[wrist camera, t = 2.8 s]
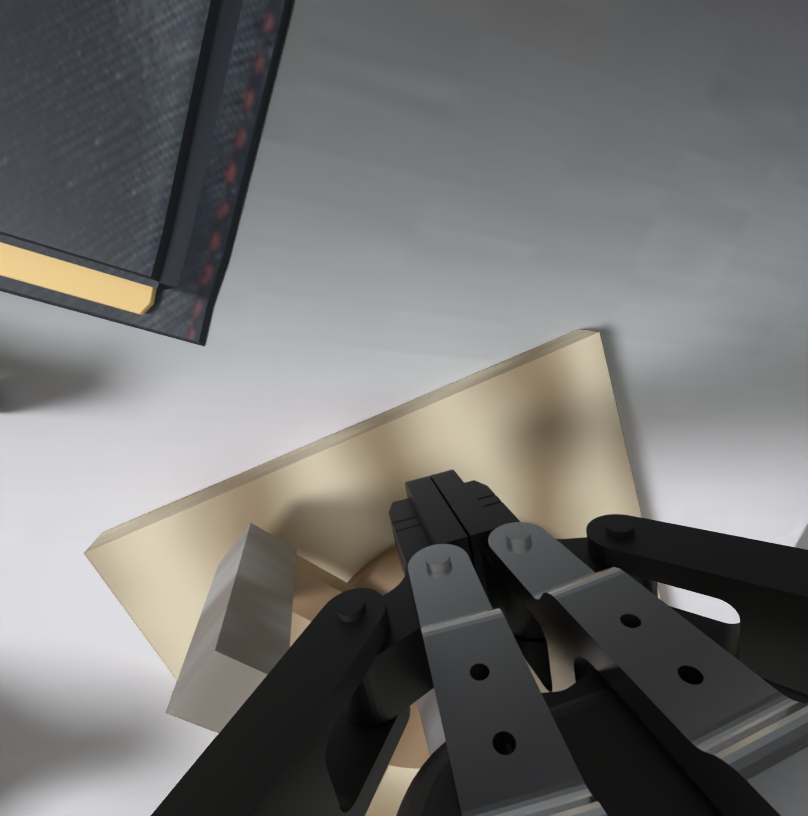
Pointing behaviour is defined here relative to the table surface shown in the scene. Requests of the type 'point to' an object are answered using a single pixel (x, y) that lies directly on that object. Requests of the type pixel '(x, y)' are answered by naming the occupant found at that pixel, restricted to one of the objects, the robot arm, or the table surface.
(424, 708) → the dial
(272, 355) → the table surface
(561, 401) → the dial board
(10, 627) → the table surface
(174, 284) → the dark grey flat block
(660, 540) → the robot arm
